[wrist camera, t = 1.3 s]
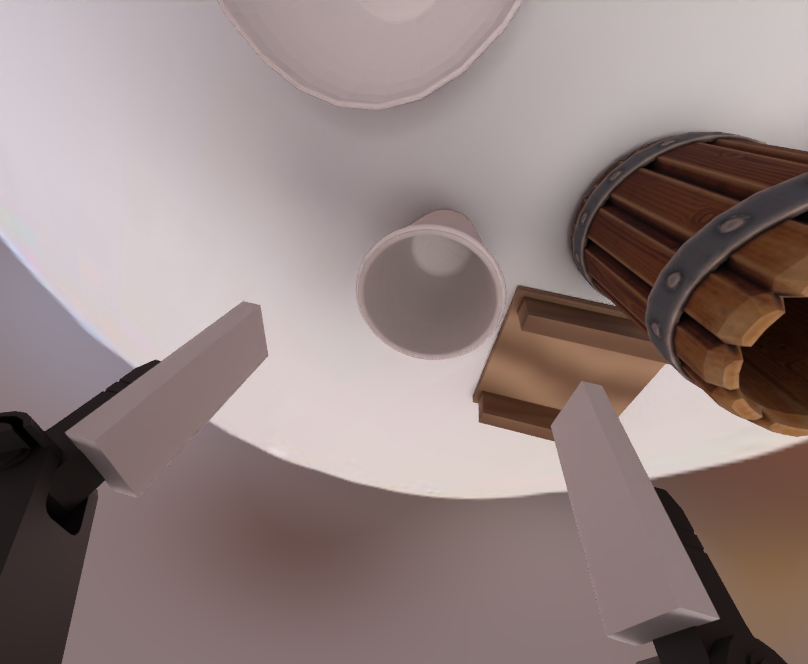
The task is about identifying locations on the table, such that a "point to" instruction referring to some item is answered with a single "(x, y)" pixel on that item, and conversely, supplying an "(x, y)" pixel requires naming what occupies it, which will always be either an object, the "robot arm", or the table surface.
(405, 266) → the dixie cup
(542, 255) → the table surface
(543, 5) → the table surface
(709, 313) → the mug
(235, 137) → the table surface
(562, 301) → the rail stand
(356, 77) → the bowl
